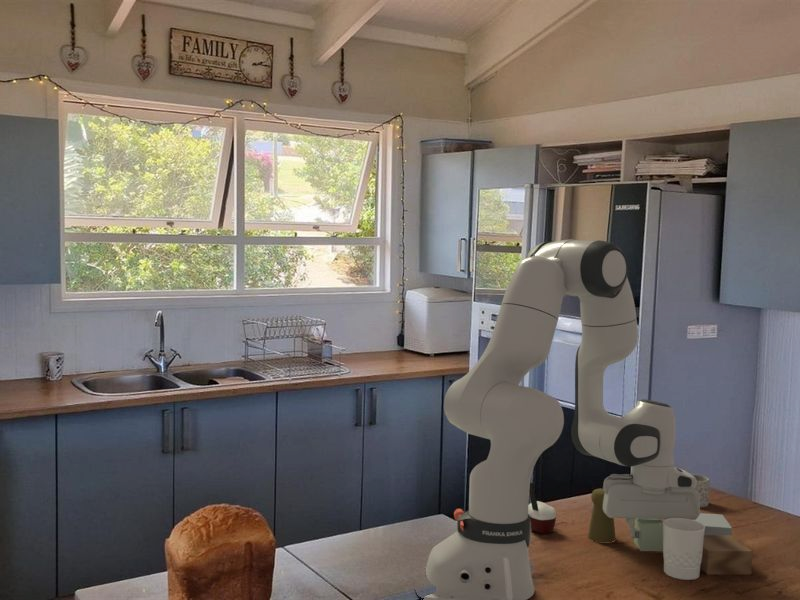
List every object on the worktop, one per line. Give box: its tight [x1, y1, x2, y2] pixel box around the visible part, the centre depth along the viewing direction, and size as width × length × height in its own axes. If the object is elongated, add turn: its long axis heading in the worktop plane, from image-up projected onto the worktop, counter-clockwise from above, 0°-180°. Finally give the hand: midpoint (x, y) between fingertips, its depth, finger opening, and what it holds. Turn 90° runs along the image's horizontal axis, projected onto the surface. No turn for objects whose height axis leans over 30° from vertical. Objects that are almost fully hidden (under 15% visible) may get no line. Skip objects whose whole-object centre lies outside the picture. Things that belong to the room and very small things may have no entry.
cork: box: [587, 488, 617, 543], centre depth 181 cm, size 6×6×11 cm
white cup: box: [662, 518, 705, 581], centre depth 162 cm, size 8×8×10 cm
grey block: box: [694, 512, 733, 536], centre depth 181 cm, size 9×9×5 cm
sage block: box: [633, 519, 664, 552], centre depth 176 cm, size 5×5×6 cm
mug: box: [690, 473, 711, 508], centre depth 208 cm, size 10×7×7 cm, turn 94°
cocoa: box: [528, 481, 557, 535], centre depth 184 cm, size 10×6×12 cm, turn 111°
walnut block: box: [700, 535, 753, 576], centre depth 166 cm, size 9×9×5 cm
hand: (649, 537), depth 176 cm, fingers closed on sage block, 5 cm apart
